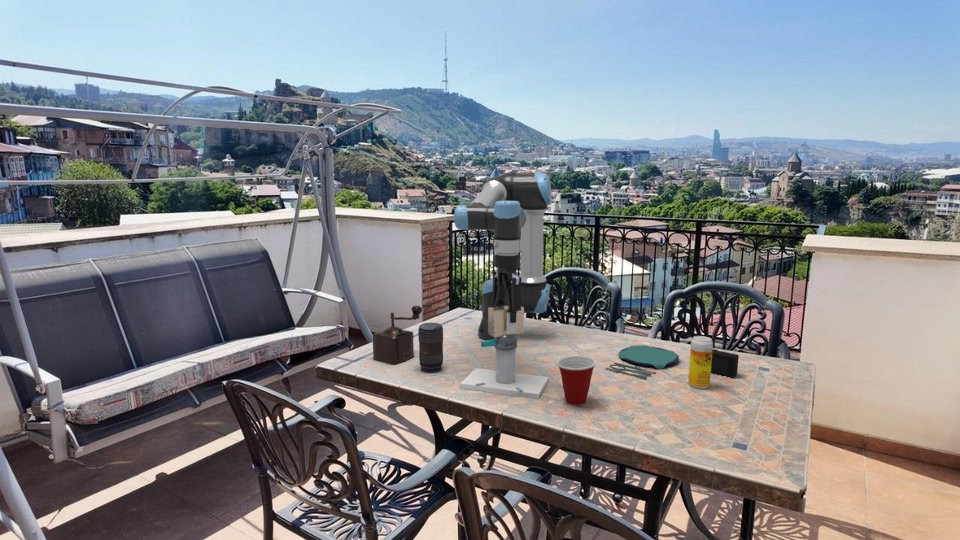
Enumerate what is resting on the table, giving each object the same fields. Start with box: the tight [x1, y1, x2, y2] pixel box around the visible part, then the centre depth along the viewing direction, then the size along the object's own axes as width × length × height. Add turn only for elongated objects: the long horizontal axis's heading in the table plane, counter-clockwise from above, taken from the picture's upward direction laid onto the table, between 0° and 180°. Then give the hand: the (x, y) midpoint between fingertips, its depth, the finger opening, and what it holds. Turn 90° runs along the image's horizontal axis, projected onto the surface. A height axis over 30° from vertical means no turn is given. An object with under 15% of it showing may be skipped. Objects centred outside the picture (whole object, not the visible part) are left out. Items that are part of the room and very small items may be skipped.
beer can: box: [687, 335, 714, 390], centre depth 158 cm, size 6×6×15 cm
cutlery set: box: [604, 344, 680, 380], centre depth 180 cm, size 20×30×2 cm, turn 138°
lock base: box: [459, 348, 550, 400], centre depth 159 cm, size 14×24×12 cm, turn 71°
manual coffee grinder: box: [372, 305, 423, 366], centre depth 184 cm, size 16×11×18 cm
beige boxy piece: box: [480, 306, 525, 350], centre depth 156 cm, size 13×7×12 cm, turn 116°
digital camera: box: [711, 348, 740, 379], centre depth 170 cm, size 10×5×7 cm, turn 49°
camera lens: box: [417, 322, 444, 373], centre depth 172 cm, size 8×8×15 cm
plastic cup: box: [556, 355, 597, 406], centre depth 147 cm, size 11×11×12 cm
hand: (505, 329), depth 157 cm, fingers open, 6 cm apart
